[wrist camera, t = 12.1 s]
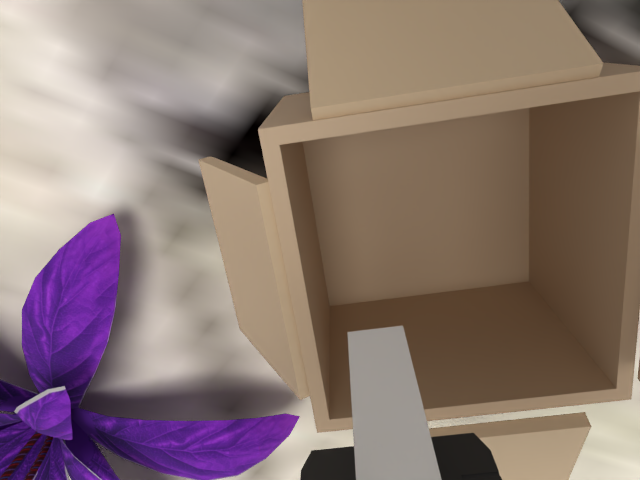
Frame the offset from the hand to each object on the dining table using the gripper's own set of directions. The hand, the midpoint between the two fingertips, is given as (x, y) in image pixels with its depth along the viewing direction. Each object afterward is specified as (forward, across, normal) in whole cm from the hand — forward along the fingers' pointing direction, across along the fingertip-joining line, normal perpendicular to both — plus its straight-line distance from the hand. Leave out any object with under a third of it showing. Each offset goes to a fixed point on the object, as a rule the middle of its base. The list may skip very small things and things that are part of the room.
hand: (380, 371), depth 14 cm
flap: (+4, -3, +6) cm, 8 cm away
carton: (+15, -1, -2) cm, 15 cm away
